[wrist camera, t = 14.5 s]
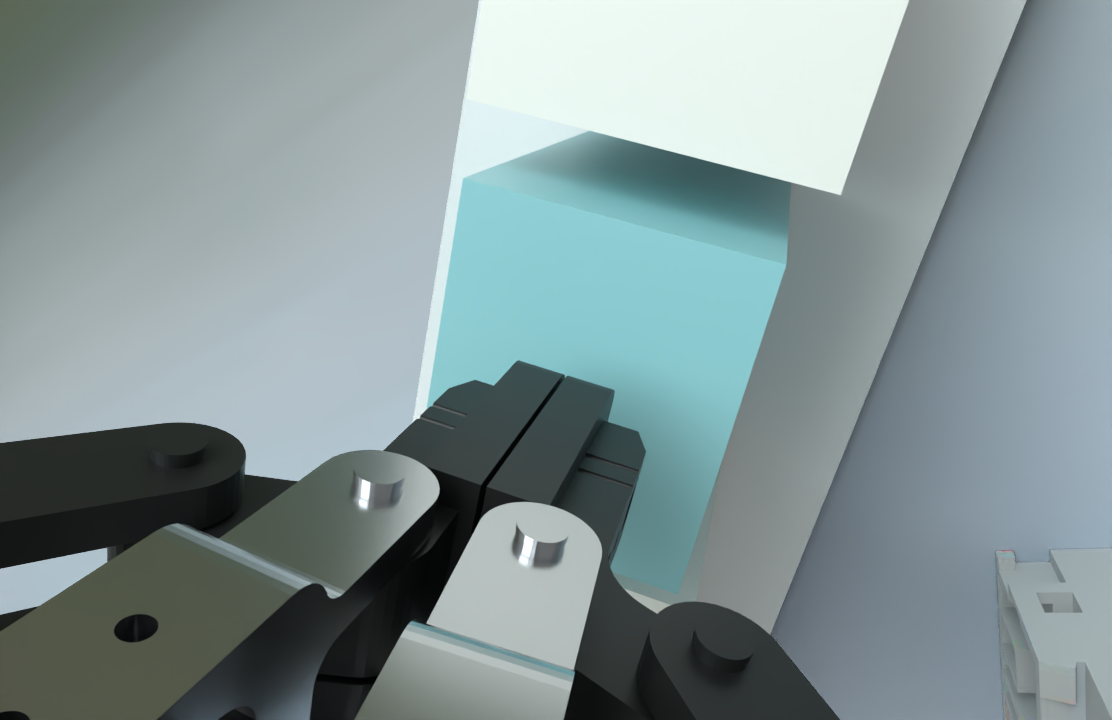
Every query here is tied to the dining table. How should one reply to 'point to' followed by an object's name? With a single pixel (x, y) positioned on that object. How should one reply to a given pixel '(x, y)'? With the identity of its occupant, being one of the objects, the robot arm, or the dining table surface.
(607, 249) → the block
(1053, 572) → the circuit breaker
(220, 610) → the robot arm
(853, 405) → the rail panel
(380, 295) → the dining table surface
